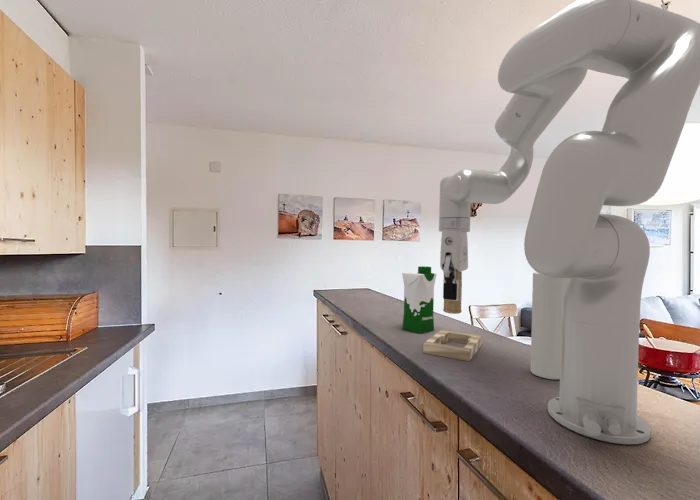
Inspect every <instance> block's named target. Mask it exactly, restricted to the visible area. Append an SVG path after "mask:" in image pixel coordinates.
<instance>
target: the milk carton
mask: <svg viewBox="0 0 700 500" xmlns="http://www.w3.org/2000/svg"><path fill="white" fill-rule="evenodd" d="M401 275H402V280H403V286H404V287H403V288H404V289H403V290H404V291H403V293H404V294H403V295H404V297H403V316H402V317H403V318H402V327H401V329H402V330H404V331H408V332H413V333H416V334H425V333H428V332H432V331H435V326H434V325H435V323H434V321H435V320H434V305H435V303H434V295H435V294H434V293H435V292H434V291H435V284H436V278H437V273H435V272H434V273H433V272H432V267H431V266H423V265H422V266H421V265H420V266H417V271H410V272H409V271H408V272H401Z"/></svg>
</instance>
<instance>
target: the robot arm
mask: <svg viewBox="0 0 700 500" xmlns="http://www.w3.org/2000/svg"><path fill="white" fill-rule="evenodd" d="M589 70H590V71H593V72H598V73H603V74H607V75H611V76H615V77H620V78H625V79H627V81H626V82H625V83H624V84H623V85H622V87H620V88H619V90H618V91H617V93H616V94H615V96H614V97H613V99H612V100H611V103H610V104H609V107H608V110H607V113H606V117H605V120H604V124H603V126H602V129H601V130H586V131H582V132H581V131H580V132H577V133H574V134H572V135H570V136H568V137H566V138H565V139H563V140H562V141H561V142H559V143H558V145H557V146H556V147H554V149H553V150H552V152H551V153H550V155H549V156H547V159H546V161H545V163H544V166H543V167H542V171H541V175H540V176H539V180H538V185H537V187H536V192H535V196H534V199H533V202H532V207H531V211H530V214H529V218H528V222H527V225H526V230H525V236H524V240H523V241H524V243H523V246H524V247H523V248H524V255H525V258H526V261H527V263H528V264H529V266H530V267H531V268H532V270H534V271H535V273H537V272H538V273H539V274H541V275H544V276H547V277H552V278H570V280H569V282H568V285H567V287H566V290H565V293H564V297H563V302H562V316H561V355H560V379H559V396H556V397H553V398H551V399H550V400H548V403H547V411H548V414H549V415H550V416H551V418H552V419H553V420H555V421H556V422H557V423H558V424H560V425H561V426H563V427H564V428H567V429H568V430H571V431H572V432H575V433H577V434H580V435H582V436H584V437H588V438H591V439H594V440H598V441H602V442H606V443H611V444H619V445H641V444H644V443H646V442H648V441H649V440H650V439H651V433H652V432H651V431H652V429H651V426H650V425H649V423H648V422H647V421H645V419H643V418H642V417H640V416H639V415H638V385H639V384H638V383H639V381H638V380H639V348H640V347H639V346H640V345H639V344H640V324H641V304H642V303H641V301H642V291H643V287H644V286H643V285H644V281H645V277H646V273H647V270H648V265H649V260H650V255H651V247H650V241H649V238H648V236H647V234H646V232H645V231H644V229H642V227H641V226H640V225H639V224H638V223H636V222H634V221H633V220H631V219H629V218H626V217H623V216H619V215H615V214H606V213H601V211H602V209H603V206H608V207H610V206H611V207H631V206H632V207H633V206H638V205H640V204H644V203H645V202H648V201H649V200H650V199H652V198H653V197H654V196H655V195H656V194H657V193H658V192H659V190H660V189H661V187H662V186H663V184H664V180H665V178H666V176H667V172H668V170H669V168H670V164H671V162H672V159H673V156H674V154H675V152H676V148H677V146H678V144H679V140H680V137H681V134H682V132H683V129H684V127H685V125H686V120H687V117H688V114H689V111H690V109H691V106H692V102H693V100H694V98H695V95H696V93H697V91H698V89H699V86H700V23H699V22H698V21H696V20H695V19H691V18H689V17H687V16H684V15H682V14H678V13H676V12H673V11H670V10H667V9H664V8H662V7H659V6H655V5H653V4H650V3H646V2H643V1H641V0H576V1H574V2H573V3H570V4H569V5H568V6H565V8H563V9H561V10H560V11H559V12H557V13H556V14H554V15H552V16H551V17H549V18H548V19H546V20H545V21H543V22H541V23H540V24H538V25H537V26H536V27H534V28H533V29H530V31H528V32H526V34H524V35H523V36H522V37H520V38H519V40H517V41H516V42H515V43H514V44H512V46H511V48H509V49H508V51H507V52H506V54H505V55H504V57H503V59H502V61H501V63H500V65H499V68H498V71H497V72H498V74H497V81H498V85H499V86H500V88H501V90H503V91H505V92H507V93H509V94H513V95H512V96H511V98H510V99H509V101H508V103H507V104H506V106H505V108H504V109H503V111H502V112H500V114H499V116H498V118H497V119H496V121H495V124H494V129H495V133H496V134H497V136H498V137H499V138H500V139H501V140H502V141H503V142H504V143H505V144H507V145H508V146H509V147H510V153H509V155H508V157H507V159H506V161H505V162H504V163H503V164H502V166H501V167H500V168H499V170H498V171H495V170H486V169H485V170H484V169H475V168H474V169H473V168H472V169H471V168H463V169H460V170H459V171H456V173H454V174H453V175H448V176H445V177H444V176H443V178H442V179H441V180H440V182H439V208H438V209H439V211H438V213H439V217H438V232H440V233H441V240H440V242H441V243H440V254H439V255H440V259H439V260H440V261H439V263H440V270H441V271H442V272H443V285H442V286H443V287H442V288H443V290H442V299H443V300H444V299H448V300H456V299H457V284H456V273H457V270H458V271H459V272H461V271H462V272H464V271H466V270H468V268H469V248H468V247H469V246H468V245H469V243H468V234H467V233H470V232H471V211H472V209H471V205H472V204H489V205H497V204H498V205H499V204H501V203H504V202H506V201H508V199H510V198H511V197H512V196H513V195H514V194H515V192H517V191H518V189H519V188H520V187H521V186H522V184H523V183H524V182H525V181H526V179H527V178H528V176H529V174H530V172H531V168H532V164H533V161H534V145H535V143H536V141H537V140H538V139H539V138H540V136H541V135H542V133H544V131H545V130H546V129H547V127H548V126H549V125H550V124H551V123H552V121H553V120H554V119H555V117H556V116H557V115H558V114H559V112H560V111H561V110H562V109H563V108H564V106H565V105H566V103H568V101H569V100H570V99H571V97H572V96H573V95H574V93H575V92H576V91H577V90H578V89H579V87H580V86H581V84H582V83H583V81H584V80H585V78H586V76H587V72H588V71H589ZM471 203H472V204H471ZM444 262H445V264H444ZM450 268H454V271H452V270H450ZM452 274H453V275H452Z"/></svg>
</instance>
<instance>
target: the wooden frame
mask: <svg viewBox="0 0 700 500" xmlns="http://www.w3.org/2000/svg"><path fill="white" fill-rule="evenodd" d="M448 342H453V343H459V344H464V347H463V346H456V345H451V344H447V343H448ZM482 345H483V335H480V334H474V333H466V332H461V331H453V330H447V329H440V330H439V331H438V332H436V333H435V334H434V335H433V336H431V337H430V338H428V339H427V340H426V341H424V343H423V353H422V354H427V355H433V356H438V357H444V358H449V359H454V360H461V361H465V362H470V361H471V360H472V359H473V357H474V356H475V355H476V353H477V352H478V350H479V349H480V348H481V346H482Z"/></svg>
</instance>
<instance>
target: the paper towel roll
mask: <svg viewBox="0 0 700 500" xmlns="http://www.w3.org/2000/svg"><path fill="white" fill-rule="evenodd" d="M569 280H570V278H552V277H547V276H544V275H541V274H539V273H538V272H532V301H531V302H532V303H531V304H532V305H531V306H532V307H531V335H530V336H531V338H530V339H531V343H530V371H531V373H532V374H533V375H535V376H537V377H540V378H543V379H547V380H560V355H561V316H562V302H563V297H564V293H565V290H566V287H567V285H568V282H569Z"/></svg>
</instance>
